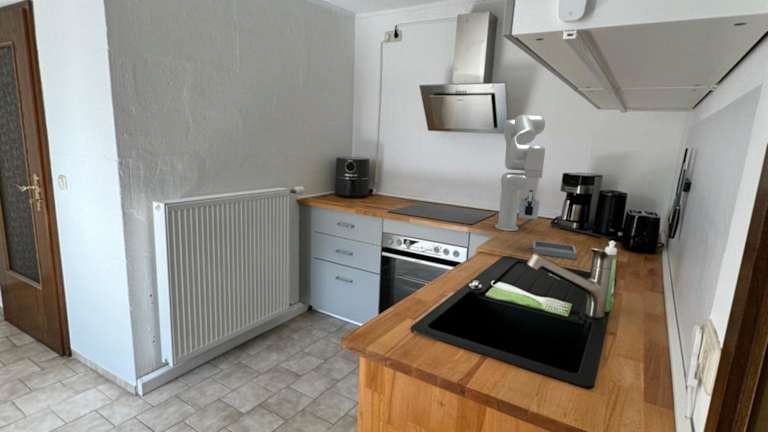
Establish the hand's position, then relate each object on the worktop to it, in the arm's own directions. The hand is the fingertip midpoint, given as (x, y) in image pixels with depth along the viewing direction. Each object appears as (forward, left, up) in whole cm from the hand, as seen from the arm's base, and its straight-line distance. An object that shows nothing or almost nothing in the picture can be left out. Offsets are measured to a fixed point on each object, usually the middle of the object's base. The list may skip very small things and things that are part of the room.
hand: (528, 213), depth 187 cm
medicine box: (0, 0, -2) cm, 2 cm away
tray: (-1, +13, -17) cm, 21 cm away
